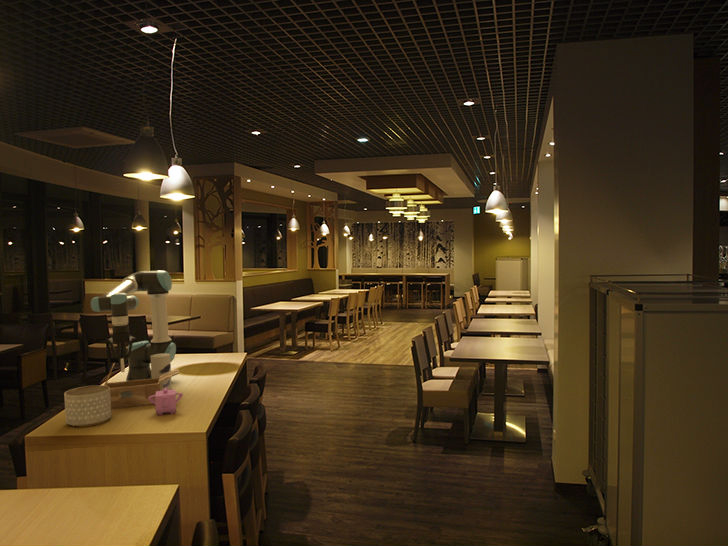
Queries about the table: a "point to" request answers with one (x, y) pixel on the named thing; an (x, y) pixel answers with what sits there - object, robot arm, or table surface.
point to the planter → (87, 405)
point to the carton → (133, 392)
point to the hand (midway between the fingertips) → (123, 371)
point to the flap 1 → (109, 374)
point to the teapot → (165, 401)
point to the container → (161, 369)
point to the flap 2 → (169, 375)
